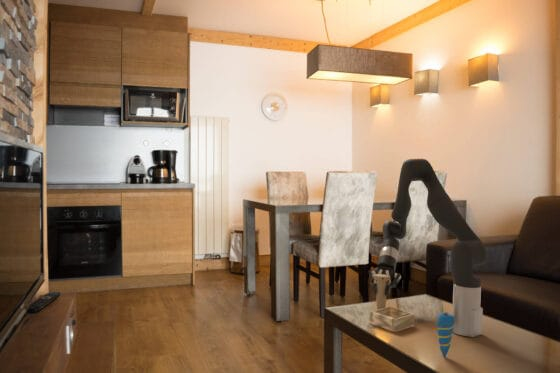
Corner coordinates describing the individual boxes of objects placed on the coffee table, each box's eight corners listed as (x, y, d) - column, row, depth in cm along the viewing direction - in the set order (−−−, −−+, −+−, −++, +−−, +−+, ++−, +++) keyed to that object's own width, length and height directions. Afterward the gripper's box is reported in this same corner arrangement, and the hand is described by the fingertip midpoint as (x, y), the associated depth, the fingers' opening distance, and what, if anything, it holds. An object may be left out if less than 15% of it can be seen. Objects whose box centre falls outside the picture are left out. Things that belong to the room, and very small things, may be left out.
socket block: (414, 326, 172) (414, 313, 172) (395, 332, 165) (395, 319, 165) (388, 318, 181) (389, 306, 181) (369, 323, 174) (370, 311, 174)
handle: (372, 309, 192) (373, 273, 191) (387, 310, 191) (389, 274, 191) (373, 313, 187) (374, 276, 187) (389, 313, 187) (390, 277, 186)
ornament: (449, 354, 145) (451, 306, 145) (456, 360, 140) (458, 311, 140) (433, 353, 145) (434, 306, 145) (439, 360, 140) (441, 311, 140)
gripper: (370, 252, 198) (361, 286, 188) (403, 255, 192) (396, 291, 182) (372, 262, 203) (364, 296, 193) (405, 266, 197) (399, 301, 187)
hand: (380, 293), depth 187 cm, fingers open, 4 cm apart
